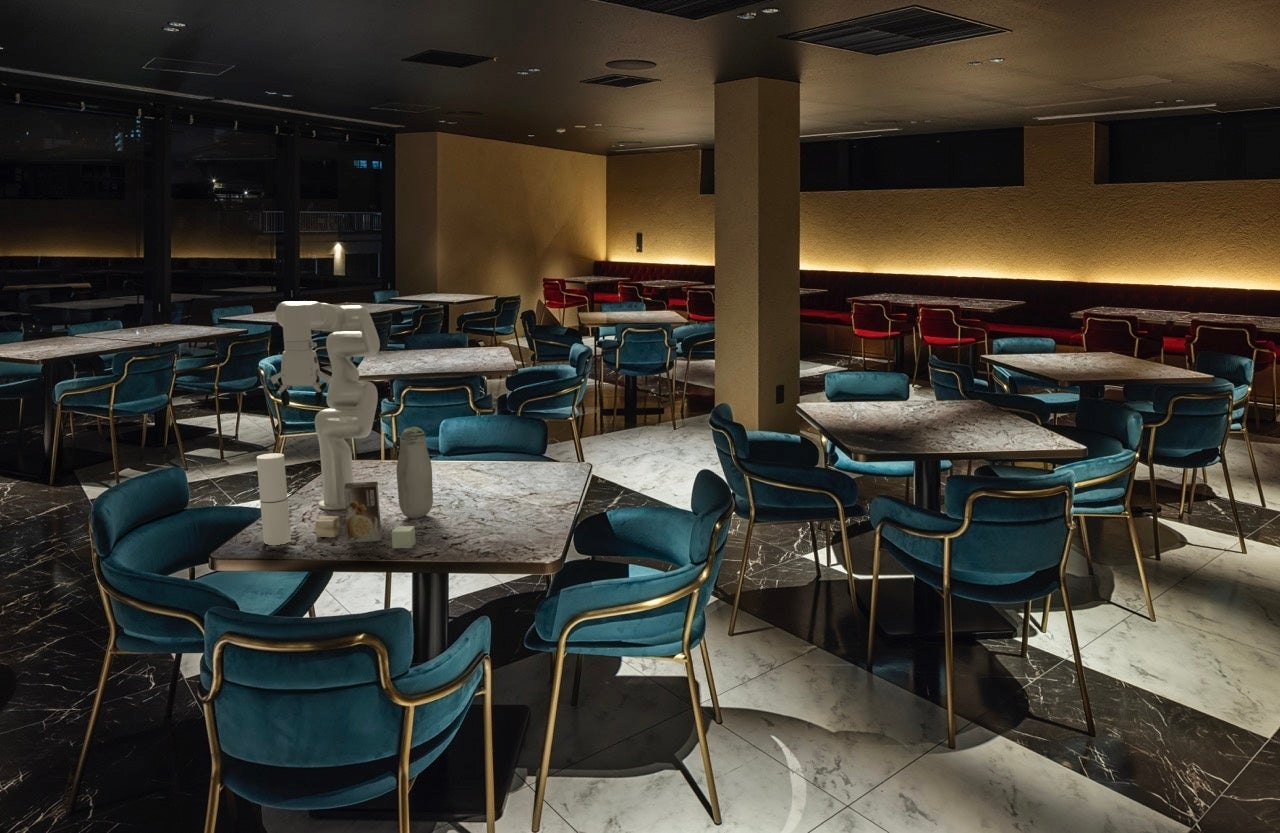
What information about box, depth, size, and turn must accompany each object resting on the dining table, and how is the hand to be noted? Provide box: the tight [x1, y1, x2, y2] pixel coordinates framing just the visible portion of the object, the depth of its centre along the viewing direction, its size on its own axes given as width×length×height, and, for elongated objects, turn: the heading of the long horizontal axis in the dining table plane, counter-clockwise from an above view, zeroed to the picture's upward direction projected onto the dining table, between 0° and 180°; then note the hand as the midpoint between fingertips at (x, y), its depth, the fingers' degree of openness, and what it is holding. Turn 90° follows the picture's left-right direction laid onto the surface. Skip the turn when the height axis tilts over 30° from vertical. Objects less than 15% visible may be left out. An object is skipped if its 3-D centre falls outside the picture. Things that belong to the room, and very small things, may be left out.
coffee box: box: [344, 481, 383, 544], centre depth 265 cm, size 9×6×16 cm
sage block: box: [391, 525, 417, 549], centre depth 260 cm, size 5×5×5 cm
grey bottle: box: [396, 426, 434, 520], centre depth 286 cm, size 10×10×28 cm
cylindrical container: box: [256, 452, 292, 545], centre depth 263 cm, size 7×7×25 cm
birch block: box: [315, 515, 341, 538], centre depth 271 cm, size 5×5×5 cm
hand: (302, 405), depth 273 cm, fingers open, 9 cm apart
